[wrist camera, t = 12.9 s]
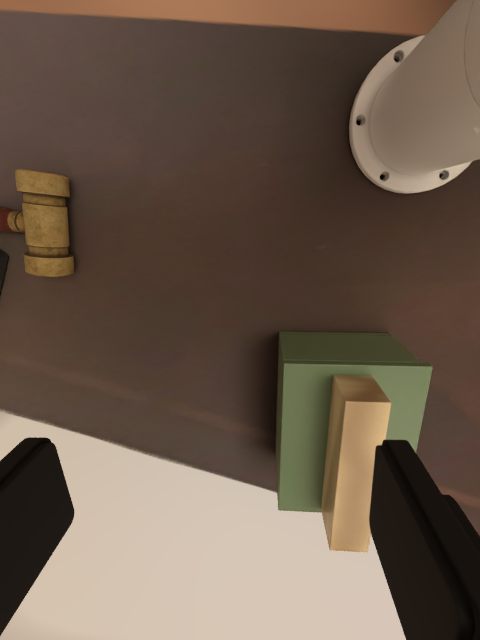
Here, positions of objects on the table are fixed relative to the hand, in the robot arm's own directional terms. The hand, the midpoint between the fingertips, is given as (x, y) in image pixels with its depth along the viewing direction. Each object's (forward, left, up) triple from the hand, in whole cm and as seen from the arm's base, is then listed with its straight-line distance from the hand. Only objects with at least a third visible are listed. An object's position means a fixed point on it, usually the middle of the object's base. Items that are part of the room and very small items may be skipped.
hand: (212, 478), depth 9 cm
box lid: (-10, +14, -20) cm, 27 cm away
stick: (-10, +14, -19) cm, 26 cm away
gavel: (+29, -8, -28) cm, 41 cm away
